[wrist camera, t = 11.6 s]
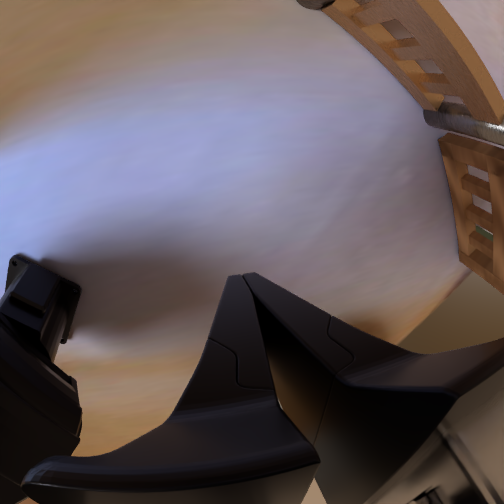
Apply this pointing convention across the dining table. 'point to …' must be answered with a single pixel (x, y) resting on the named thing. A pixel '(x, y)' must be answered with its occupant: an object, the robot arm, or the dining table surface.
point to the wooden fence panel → (421, 48)
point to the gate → (466, 214)
